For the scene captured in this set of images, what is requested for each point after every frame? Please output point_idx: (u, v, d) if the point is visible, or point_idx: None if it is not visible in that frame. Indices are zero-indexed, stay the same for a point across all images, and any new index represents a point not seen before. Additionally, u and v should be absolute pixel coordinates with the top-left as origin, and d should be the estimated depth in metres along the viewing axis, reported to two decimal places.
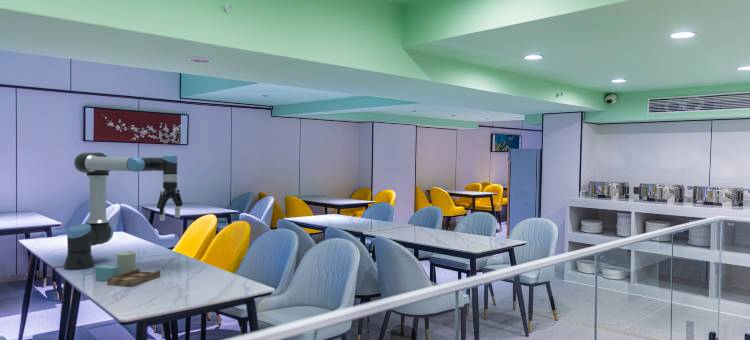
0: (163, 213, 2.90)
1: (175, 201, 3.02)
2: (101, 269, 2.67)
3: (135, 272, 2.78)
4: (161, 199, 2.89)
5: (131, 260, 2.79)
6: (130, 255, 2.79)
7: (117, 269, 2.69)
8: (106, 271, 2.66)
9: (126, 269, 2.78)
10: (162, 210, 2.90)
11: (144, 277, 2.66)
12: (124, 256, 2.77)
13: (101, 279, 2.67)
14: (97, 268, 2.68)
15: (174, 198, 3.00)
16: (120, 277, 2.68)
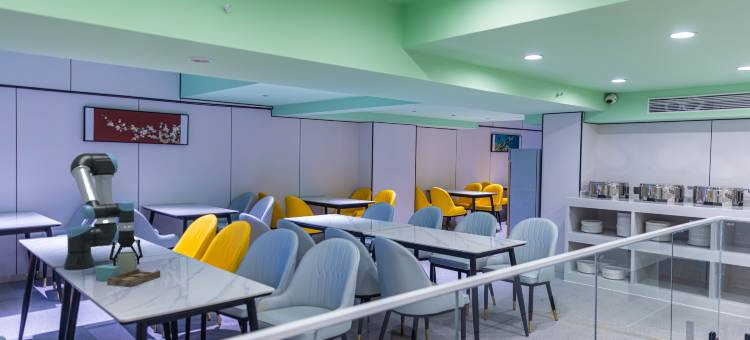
0: (115, 265, 2.78)
1: None
2: (101, 269, 2.67)
3: (135, 272, 2.78)
4: (111, 250, 2.77)
5: (131, 260, 2.79)
6: (130, 255, 2.79)
7: (117, 269, 2.69)
8: (106, 271, 2.66)
9: (126, 269, 2.78)
10: (114, 262, 2.78)
11: (144, 277, 2.66)
12: (124, 256, 2.77)
13: (101, 279, 2.67)
14: (97, 268, 2.68)
15: (131, 248, 2.82)
16: (120, 277, 2.68)
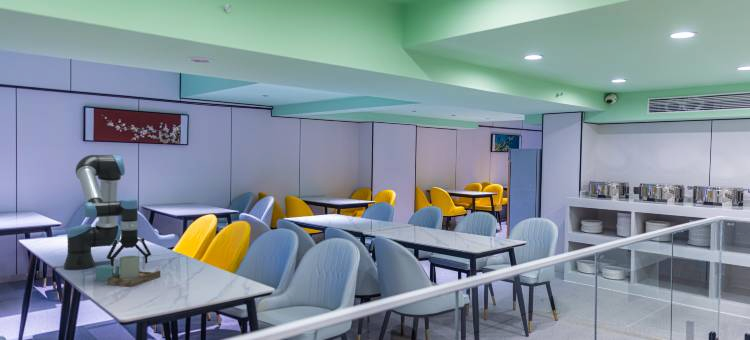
0: (113, 265, 2.61)
1: (140, 251, 2.67)
2: (101, 269, 2.67)
3: None
4: (111, 249, 2.60)
5: (135, 265, 2.63)
6: (133, 259, 2.62)
7: (117, 269, 2.69)
8: (106, 271, 2.66)
9: (129, 274, 2.61)
10: (112, 261, 2.60)
11: (144, 277, 2.66)
12: (127, 260, 2.61)
13: (101, 279, 2.67)
14: (97, 268, 2.68)
15: None
16: None
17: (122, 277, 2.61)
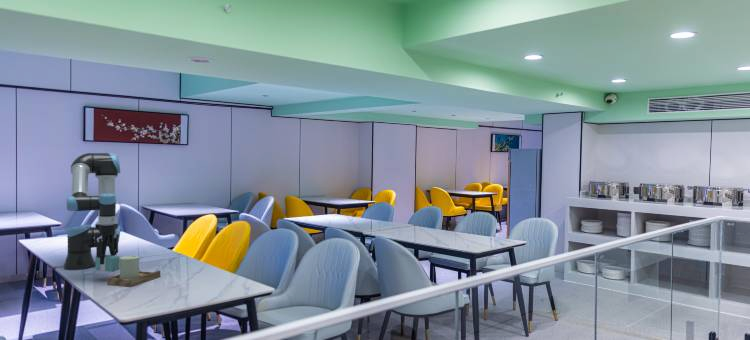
0: (104, 262, 2.66)
1: (110, 247, 2.71)
2: None
3: None
4: (99, 248, 2.63)
5: (135, 265, 2.63)
6: (133, 259, 2.62)
7: (117, 259, 2.69)
8: (106, 261, 2.67)
9: (129, 274, 2.61)
10: (103, 259, 2.65)
11: (144, 277, 2.66)
12: (127, 260, 2.61)
13: None
14: (97, 257, 2.68)
15: (110, 243, 2.70)
16: None
17: (122, 277, 2.61)
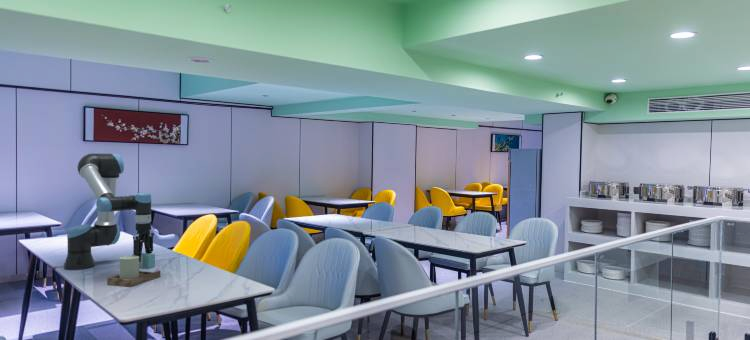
0: (141, 260, 2.72)
1: (146, 246, 2.77)
2: None
3: None
4: (136, 246, 2.69)
5: (135, 265, 2.63)
6: (133, 259, 2.62)
7: (153, 256, 2.75)
8: (142, 258, 2.72)
9: (129, 274, 2.61)
10: (139, 257, 2.71)
11: (144, 277, 2.66)
12: (127, 260, 2.61)
13: None
14: (133, 255, 2.74)
15: (146, 241, 2.76)
16: None
17: (122, 277, 2.61)
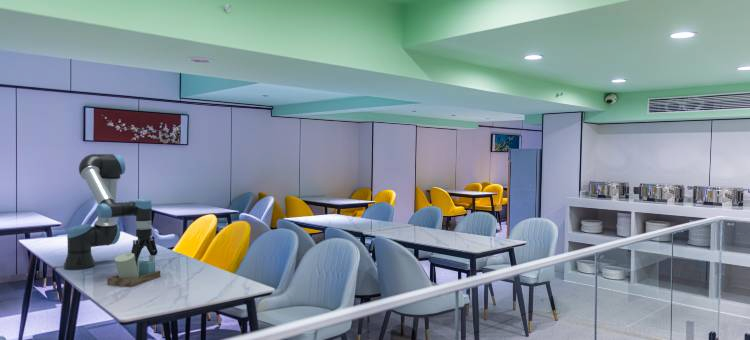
0: (137, 265, 2.69)
1: (149, 249, 2.80)
2: None
3: None
4: (134, 250, 2.68)
5: (131, 265, 2.60)
6: (129, 260, 2.59)
7: (153, 264, 2.75)
8: (142, 266, 2.73)
9: (127, 274, 2.60)
10: (136, 261, 2.69)
11: (144, 277, 2.66)
12: (122, 262, 2.58)
13: None
14: None
15: (148, 246, 2.78)
16: None
17: (121, 277, 2.60)
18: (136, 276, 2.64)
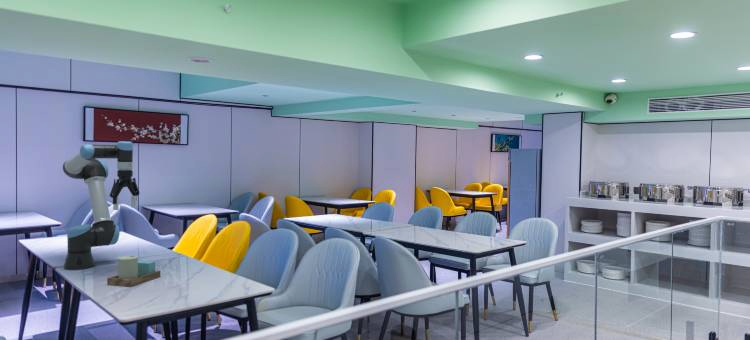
0: (117, 202, 2.79)
1: (131, 190, 2.91)
2: (138, 264, 2.73)
3: None
4: (114, 188, 2.78)
5: (134, 265, 2.63)
6: (132, 259, 2.62)
7: (153, 264, 2.75)
8: (142, 266, 2.73)
9: (128, 274, 2.61)
10: (115, 199, 2.79)
11: (144, 277, 2.66)
12: (126, 261, 2.60)
13: (138, 274, 2.74)
14: None
15: (130, 187, 2.89)
16: None
17: (121, 277, 2.61)
18: None
